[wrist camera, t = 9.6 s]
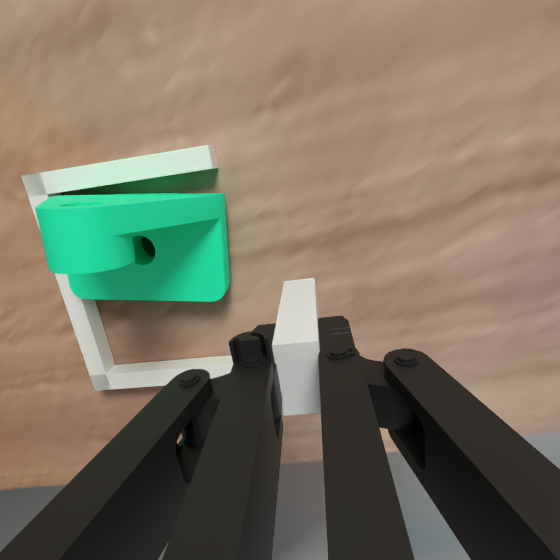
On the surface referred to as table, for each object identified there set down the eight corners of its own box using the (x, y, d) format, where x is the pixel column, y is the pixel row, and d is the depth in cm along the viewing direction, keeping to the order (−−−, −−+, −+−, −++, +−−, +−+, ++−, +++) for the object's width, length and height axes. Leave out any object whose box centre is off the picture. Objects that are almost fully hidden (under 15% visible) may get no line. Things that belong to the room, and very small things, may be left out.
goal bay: (214, 145, 25) (208, 144, 24) (255, 369, 30) (253, 379, 29) (36, 175, 27) (21, 176, 26) (104, 380, 32) (95, 390, 31)
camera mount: (92, 287, 30) (-17, 347, 20) (74, 193, 27) (-58, 209, 18) (234, 289, 29) (191, 354, 19) (228, 192, 26) (176, 208, 17)
